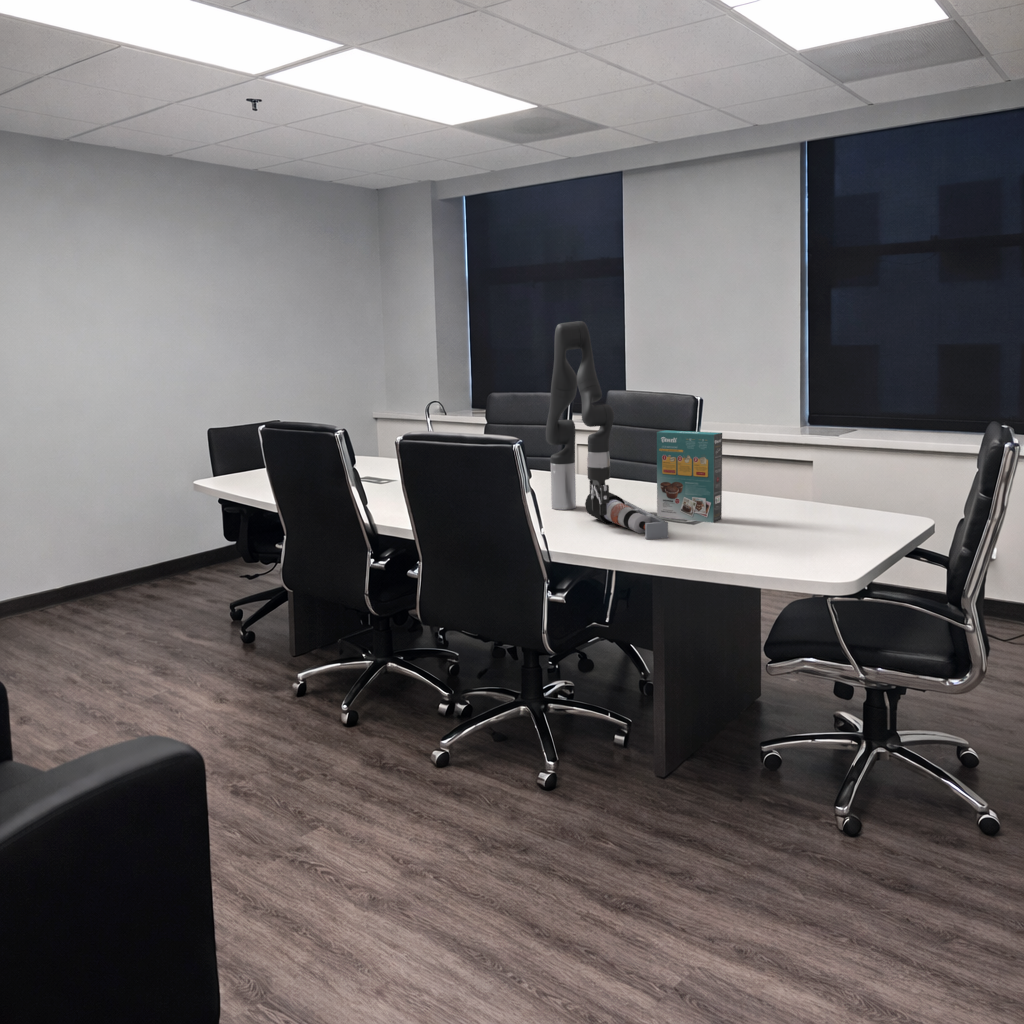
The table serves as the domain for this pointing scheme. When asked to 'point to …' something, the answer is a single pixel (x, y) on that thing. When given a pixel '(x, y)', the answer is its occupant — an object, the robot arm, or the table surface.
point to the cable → (619, 514)
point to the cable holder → (652, 524)
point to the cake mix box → (689, 475)
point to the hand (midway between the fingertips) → (599, 512)
